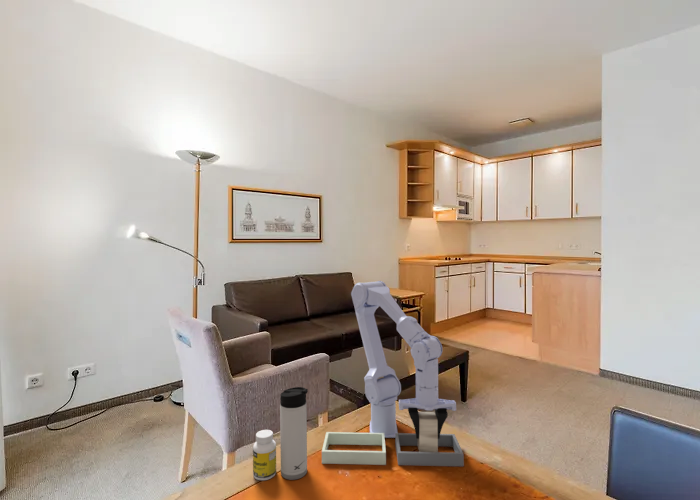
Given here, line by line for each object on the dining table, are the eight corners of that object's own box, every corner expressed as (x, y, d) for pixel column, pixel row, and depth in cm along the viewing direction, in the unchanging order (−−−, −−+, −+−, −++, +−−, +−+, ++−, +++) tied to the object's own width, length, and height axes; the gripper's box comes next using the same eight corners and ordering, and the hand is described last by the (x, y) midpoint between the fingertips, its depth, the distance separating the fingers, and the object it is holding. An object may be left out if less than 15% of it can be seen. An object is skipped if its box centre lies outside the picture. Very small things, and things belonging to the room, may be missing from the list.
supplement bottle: (248, 477, 87) (247, 435, 87) (263, 465, 92) (263, 426, 92) (266, 484, 85) (265, 441, 85) (281, 471, 90) (280, 430, 90)
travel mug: (303, 482, 85) (302, 395, 85) (276, 478, 87) (275, 393, 87) (311, 466, 91) (311, 385, 92) (286, 463, 93) (285, 383, 93)
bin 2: (395, 444, 102) (395, 433, 102) (454, 445, 101) (454, 434, 101) (398, 465, 92) (398, 452, 92) (463, 466, 91) (463, 454, 91)
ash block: (417, 445, 99) (417, 411, 99) (434, 445, 98) (434, 411, 98) (419, 454, 94) (419, 419, 94) (437, 455, 94) (437, 419, 94)
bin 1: (326, 442, 103) (326, 432, 103) (384, 443, 102) (384, 432, 102) (321, 463, 93) (321, 451, 93) (385, 464, 92) (385, 452, 92)
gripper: (400, 389, 93) (400, 444, 93) (458, 390, 92) (459, 445, 92) (397, 380, 100) (398, 430, 100) (452, 380, 99) (453, 431, 99)
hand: (427, 436), depth 96 cm, fingers closed on ash block, 4 cm apart
